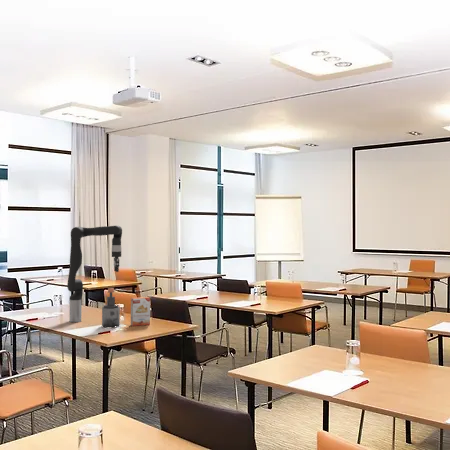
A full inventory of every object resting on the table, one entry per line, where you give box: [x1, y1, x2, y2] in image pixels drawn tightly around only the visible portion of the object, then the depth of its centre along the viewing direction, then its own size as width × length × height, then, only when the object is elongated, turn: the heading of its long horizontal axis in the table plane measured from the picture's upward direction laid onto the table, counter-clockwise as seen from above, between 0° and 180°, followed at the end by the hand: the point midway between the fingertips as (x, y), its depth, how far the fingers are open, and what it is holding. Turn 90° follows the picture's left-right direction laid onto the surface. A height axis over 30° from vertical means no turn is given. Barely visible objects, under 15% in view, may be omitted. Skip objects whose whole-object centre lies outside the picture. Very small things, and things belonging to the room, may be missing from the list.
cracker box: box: [130, 296, 151, 327], centre depth 406 cm, size 14×6×21 cm, turn 117°
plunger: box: [107, 287, 115, 297], centre depth 402 cm, size 4×4×12 cm
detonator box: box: [101, 295, 121, 328], centre depth 400 cm, size 18×13×22 cm
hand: (116, 271), depth 417 cm, fingers open, 8 cm apart
